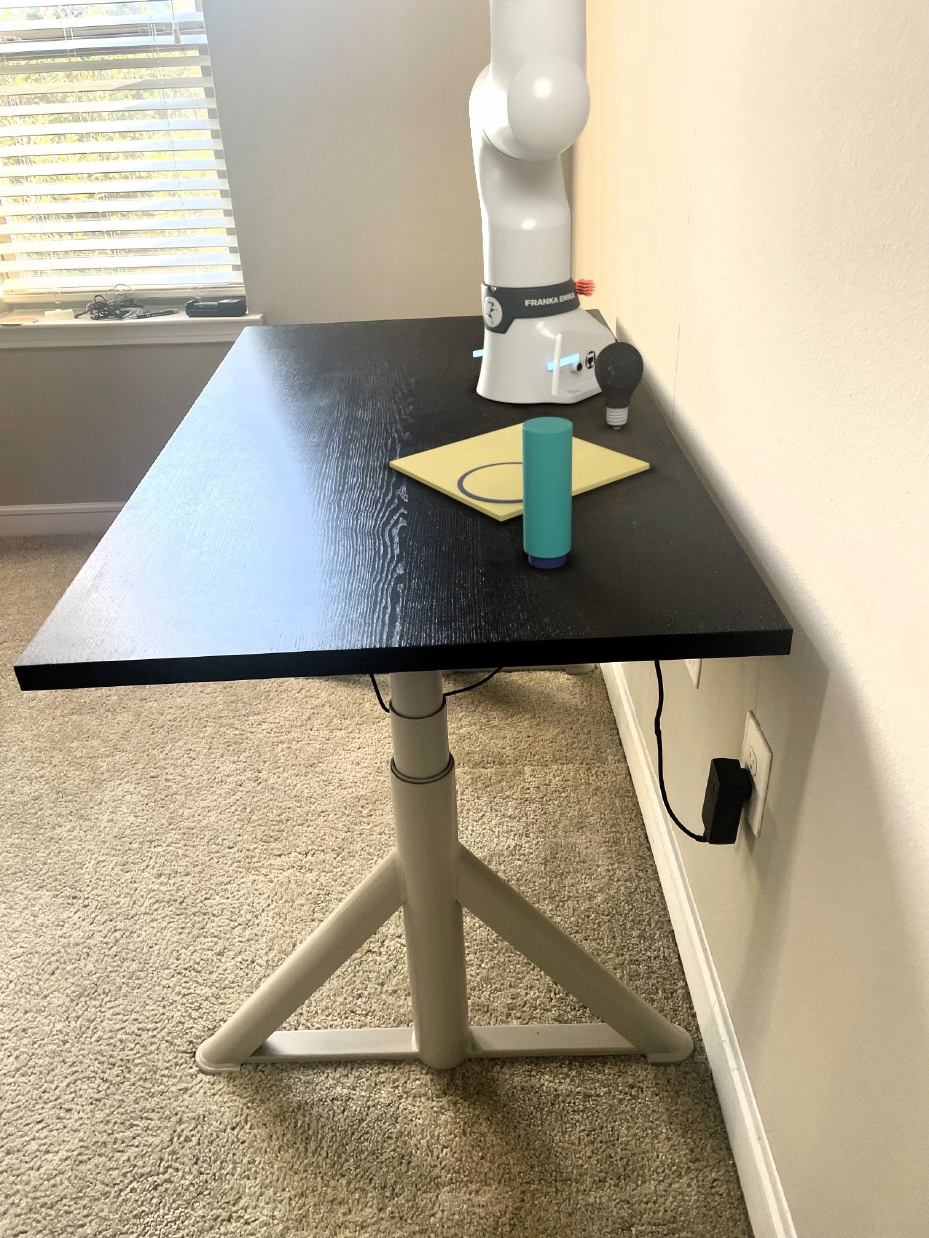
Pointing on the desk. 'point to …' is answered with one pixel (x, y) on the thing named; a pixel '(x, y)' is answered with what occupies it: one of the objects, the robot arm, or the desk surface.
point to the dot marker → (547, 490)
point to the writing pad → (506, 470)
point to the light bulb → (618, 379)
